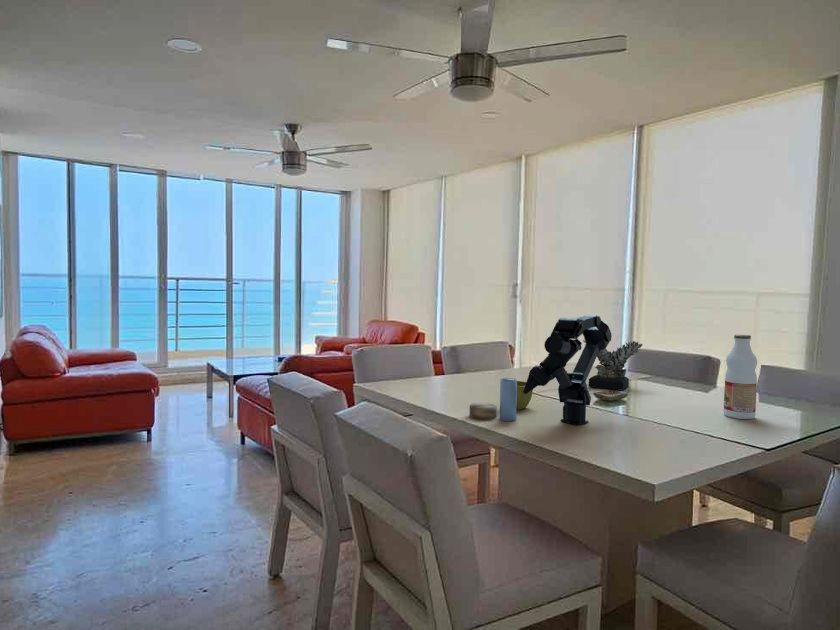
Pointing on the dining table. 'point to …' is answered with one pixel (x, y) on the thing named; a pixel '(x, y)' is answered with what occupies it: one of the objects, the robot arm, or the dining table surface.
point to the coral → (613, 367)
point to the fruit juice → (740, 380)
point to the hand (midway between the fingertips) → (527, 390)
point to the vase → (508, 399)
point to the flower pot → (522, 395)
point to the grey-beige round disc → (483, 411)
